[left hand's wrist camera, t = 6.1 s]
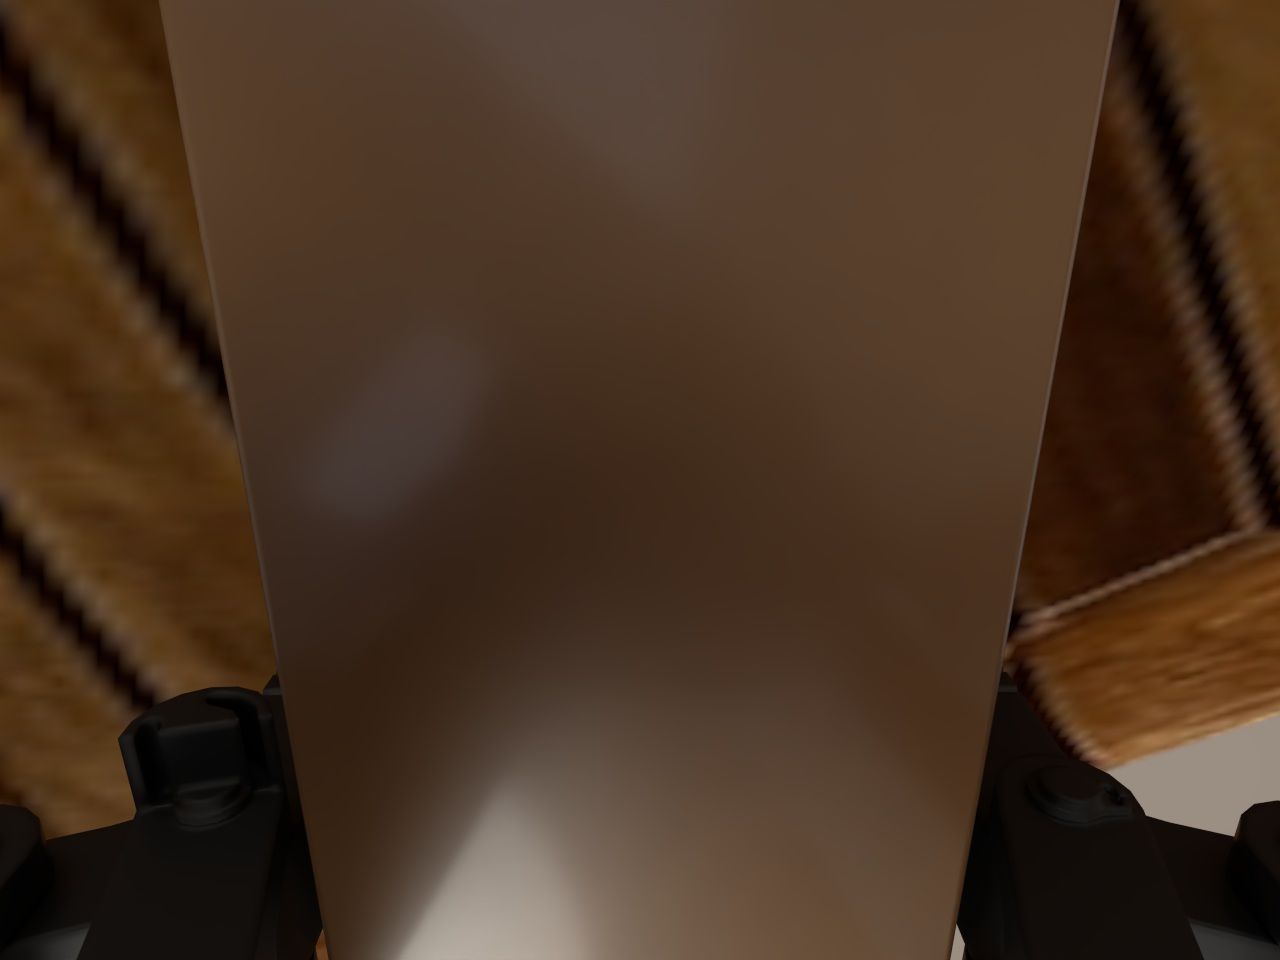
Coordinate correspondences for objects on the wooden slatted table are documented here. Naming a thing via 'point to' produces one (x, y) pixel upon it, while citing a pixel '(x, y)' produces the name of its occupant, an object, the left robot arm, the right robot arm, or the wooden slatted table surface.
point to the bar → (639, 445)
